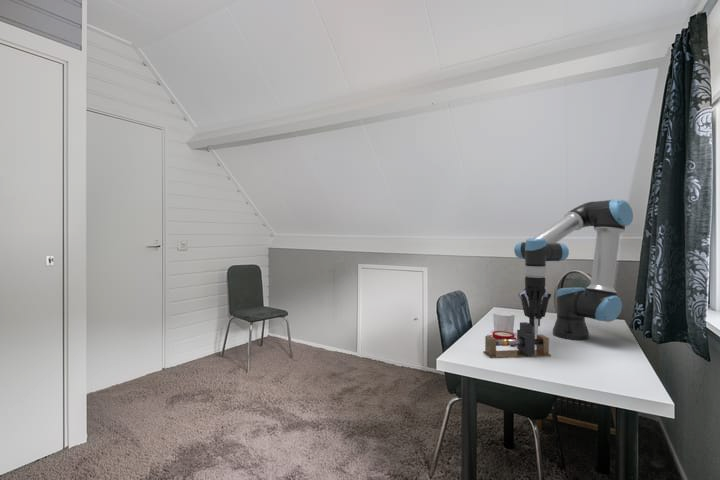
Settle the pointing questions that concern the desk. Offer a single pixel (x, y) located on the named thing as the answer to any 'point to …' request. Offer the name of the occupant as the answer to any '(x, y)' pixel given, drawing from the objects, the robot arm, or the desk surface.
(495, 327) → the cup
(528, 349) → the dark grey stepped block
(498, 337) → the alarm clock
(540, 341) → the rail
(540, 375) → the desk surface
